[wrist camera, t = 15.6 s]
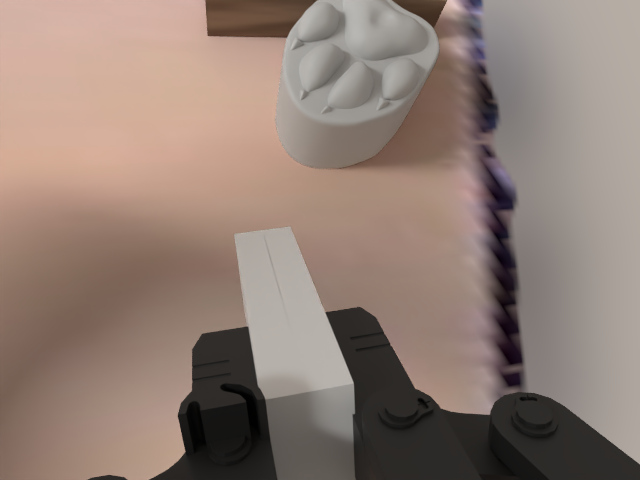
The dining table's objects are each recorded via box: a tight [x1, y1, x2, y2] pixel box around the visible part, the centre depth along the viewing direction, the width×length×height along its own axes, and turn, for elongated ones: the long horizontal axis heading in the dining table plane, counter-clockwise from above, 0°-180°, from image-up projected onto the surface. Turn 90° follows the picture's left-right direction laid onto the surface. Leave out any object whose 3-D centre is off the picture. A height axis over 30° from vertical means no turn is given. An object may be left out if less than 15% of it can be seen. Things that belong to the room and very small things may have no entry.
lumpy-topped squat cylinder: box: [275, 0, 440, 169], centre depth 44 cm, size 10×13×9 cm
